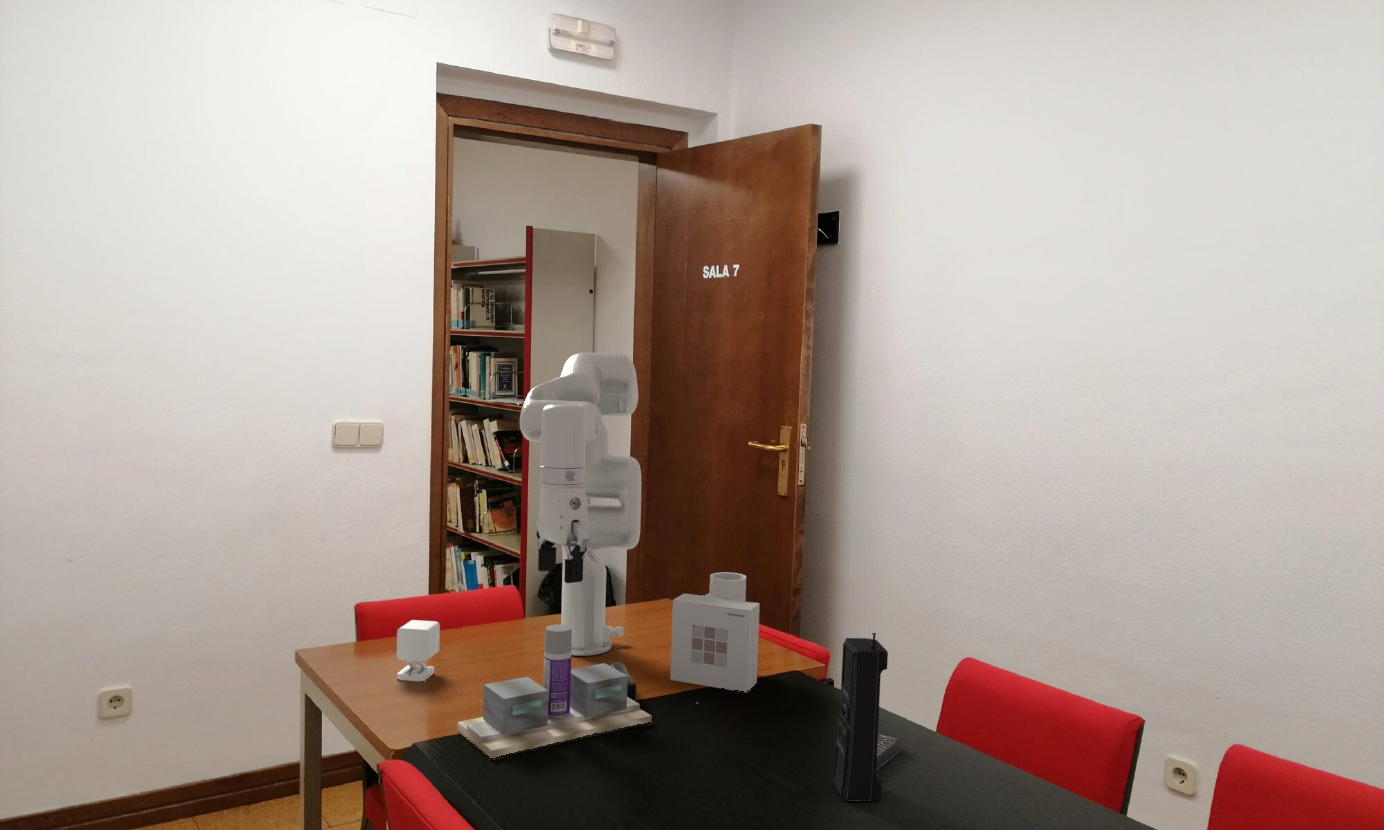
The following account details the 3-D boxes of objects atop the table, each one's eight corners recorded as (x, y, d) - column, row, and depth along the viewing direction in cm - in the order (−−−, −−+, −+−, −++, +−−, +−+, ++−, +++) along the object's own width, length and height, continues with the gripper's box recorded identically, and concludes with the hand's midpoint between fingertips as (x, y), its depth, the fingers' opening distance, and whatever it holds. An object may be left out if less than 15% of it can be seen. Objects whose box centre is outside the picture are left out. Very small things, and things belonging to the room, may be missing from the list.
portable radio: (829, 779, 151) (836, 620, 149) (867, 779, 151) (874, 620, 150) (841, 802, 143) (848, 634, 142) (881, 802, 144) (889, 635, 142)
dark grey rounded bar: (639, 682, 179) (619, 656, 193) (623, 683, 178) (604, 656, 192) (638, 709, 180) (618, 680, 194) (622, 710, 179) (603, 681, 193)
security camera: (439, 670, 196) (439, 621, 196) (426, 681, 189) (427, 631, 189) (408, 668, 197) (409, 619, 196) (394, 679, 190) (395, 629, 189)
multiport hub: (840, 773, 154) (841, 759, 154) (878, 745, 166) (878, 731, 166) (866, 781, 152) (867, 766, 152) (902, 751, 164) (903, 738, 164)
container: (574, 710, 170) (576, 625, 169) (562, 720, 166) (565, 632, 165) (550, 707, 171) (552, 622, 171) (537, 715, 167) (540, 629, 166)
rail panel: (610, 699, 183) (612, 655, 182) (651, 723, 171) (652, 677, 171) (457, 730, 165) (458, 682, 165) (491, 759, 154) (492, 708, 154)
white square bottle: (669, 680, 195) (672, 581, 194) (703, 655, 212) (706, 564, 211) (746, 693, 189) (750, 591, 188) (775, 666, 206) (778, 572, 205)
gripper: (607, 482, 161) (604, 584, 162) (558, 469, 175) (556, 564, 176) (566, 484, 157) (564, 589, 158) (520, 471, 171) (517, 568, 172)
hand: (559, 576), depth 167 cm, fingers open, 9 cm apart
